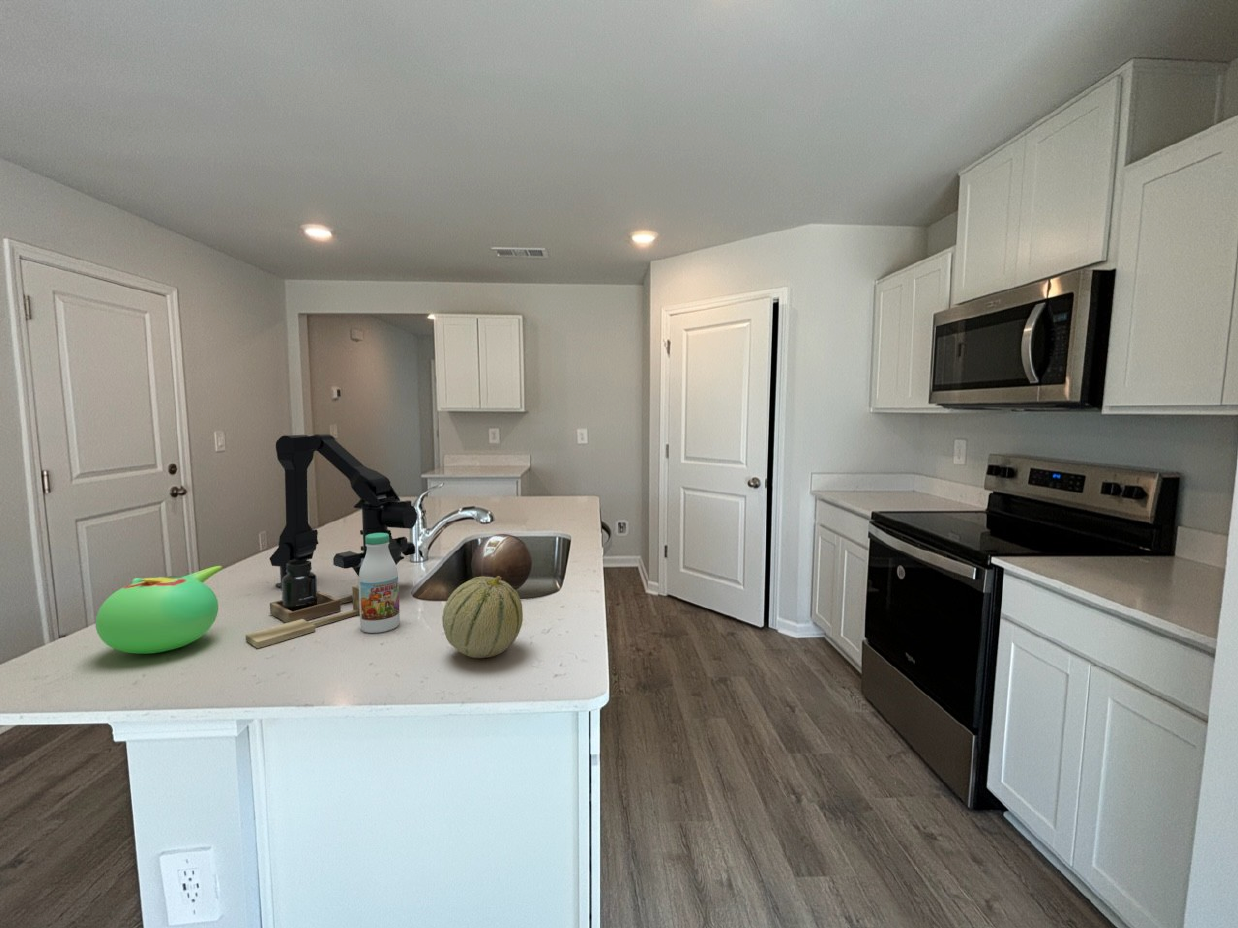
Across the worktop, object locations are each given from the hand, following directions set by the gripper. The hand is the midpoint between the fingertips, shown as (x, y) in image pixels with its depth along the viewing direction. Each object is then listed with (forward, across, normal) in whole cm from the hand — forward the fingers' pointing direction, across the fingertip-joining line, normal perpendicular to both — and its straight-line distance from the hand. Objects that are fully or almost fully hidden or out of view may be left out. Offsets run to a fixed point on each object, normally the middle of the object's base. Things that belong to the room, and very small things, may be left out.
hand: (377, 587), depth 137 cm
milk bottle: (+2, -11, -21) cm, 24 cm away
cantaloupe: (+2, -6, -49) cm, 49 cm away
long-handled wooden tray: (+1, -19, -10) cm, 22 cm away
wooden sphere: (+2, +20, -24) cm, 31 cm away
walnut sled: (+1, -10, 0) cm, 11 cm away
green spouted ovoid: (+2, -42, +2) cm, 42 cm away
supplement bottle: (+2, -18, 0) cm, 18 cm away
